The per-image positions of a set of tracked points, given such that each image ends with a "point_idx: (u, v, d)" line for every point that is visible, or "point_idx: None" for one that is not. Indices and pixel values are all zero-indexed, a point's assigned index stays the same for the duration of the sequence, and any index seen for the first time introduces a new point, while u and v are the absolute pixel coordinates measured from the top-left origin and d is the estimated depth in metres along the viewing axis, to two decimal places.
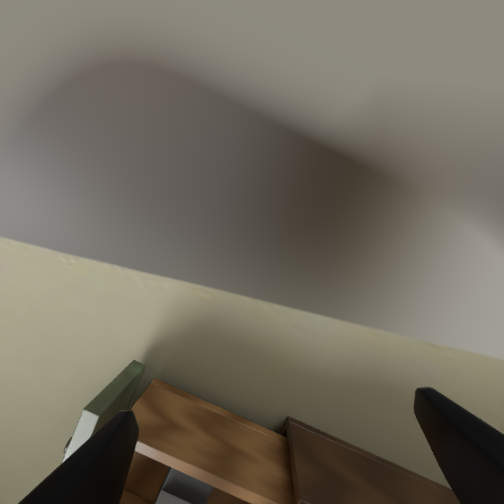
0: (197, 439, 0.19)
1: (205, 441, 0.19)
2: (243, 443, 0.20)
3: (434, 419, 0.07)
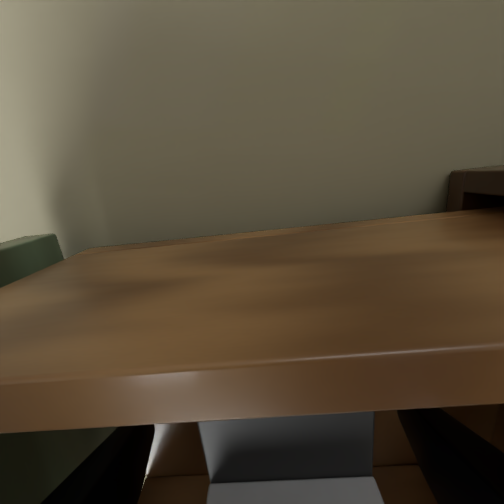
0: (228, 285, 0.05)
1: (264, 277, 0.05)
2: (392, 243, 0.06)
3: (414, 420, 0.07)
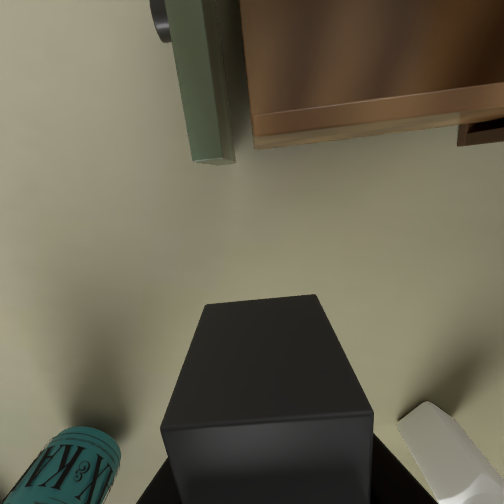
0: None
1: None
2: None
3: None
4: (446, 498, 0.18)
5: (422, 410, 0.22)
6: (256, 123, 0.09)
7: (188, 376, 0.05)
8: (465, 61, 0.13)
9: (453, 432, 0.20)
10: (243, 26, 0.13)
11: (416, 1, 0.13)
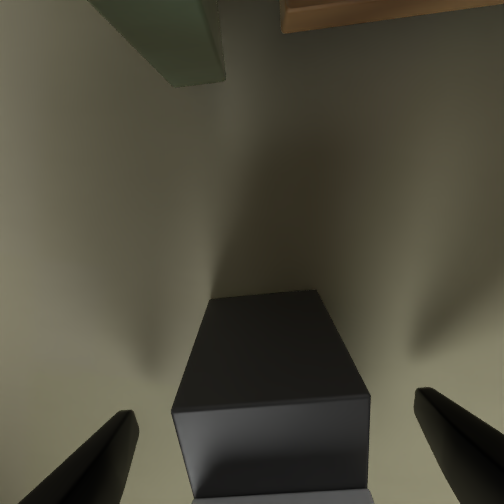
0: None
1: None
2: None
3: (434, 419, 0.07)
4: None
5: None
6: None
7: (196, 364, 0.05)
8: None
9: None
10: None
11: None
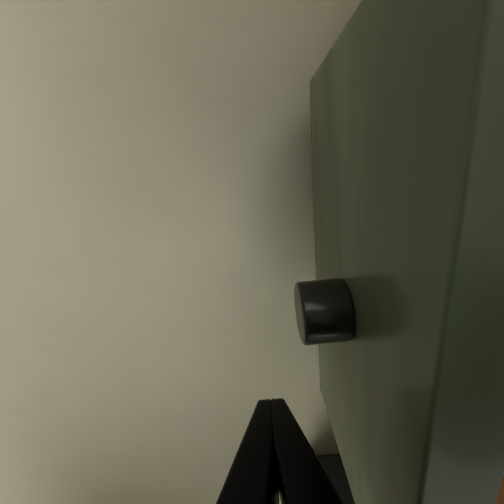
0: None
1: None
2: None
3: None
4: None
5: None
6: None
7: None
8: None
9: None
10: None
11: None
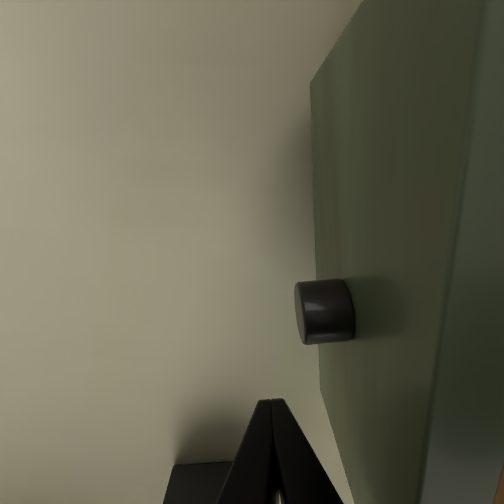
0: None
1: None
2: None
3: None
4: None
5: None
6: None
7: None
8: None
9: None
10: None
11: None
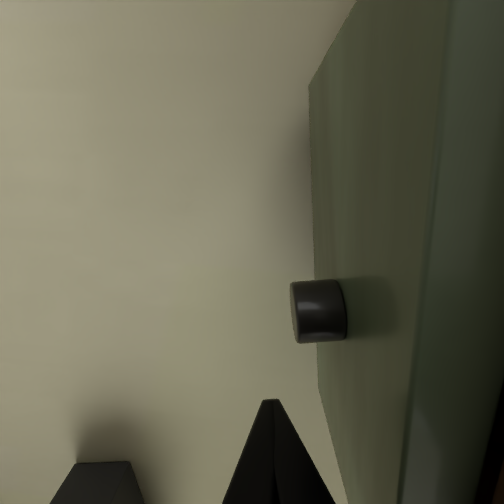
0: None
1: None
2: None
3: None
4: None
5: None
6: None
7: None
8: None
9: None
10: None
11: None
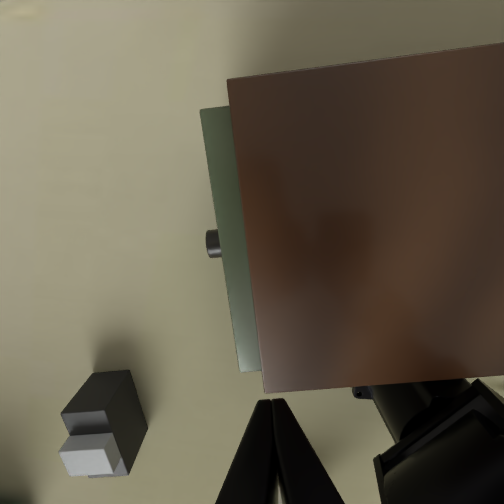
0: None
1: None
2: None
3: None
4: None
5: None
6: None
7: (72, 401, 0.20)
8: None
9: None
10: None
11: None
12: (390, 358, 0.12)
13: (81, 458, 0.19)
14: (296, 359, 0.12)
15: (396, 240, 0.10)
